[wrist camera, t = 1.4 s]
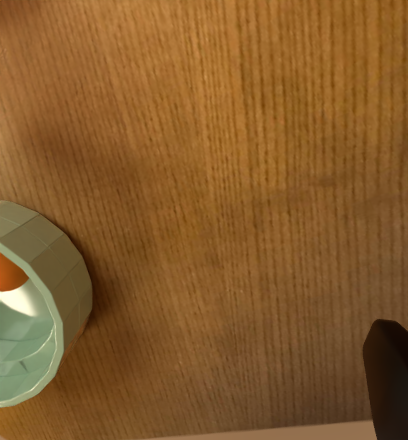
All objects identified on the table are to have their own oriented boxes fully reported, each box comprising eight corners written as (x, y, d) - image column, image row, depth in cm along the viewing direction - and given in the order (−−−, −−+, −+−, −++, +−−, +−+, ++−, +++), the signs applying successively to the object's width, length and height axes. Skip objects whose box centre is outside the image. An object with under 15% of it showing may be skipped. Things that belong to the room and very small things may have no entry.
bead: (48, 273, 24) (24, 296, 22) (7, 280, 25) (-22, 304, 22) (31, 231, 24) (4, 250, 21) (-11, 239, 24) (-43, 259, 21)
